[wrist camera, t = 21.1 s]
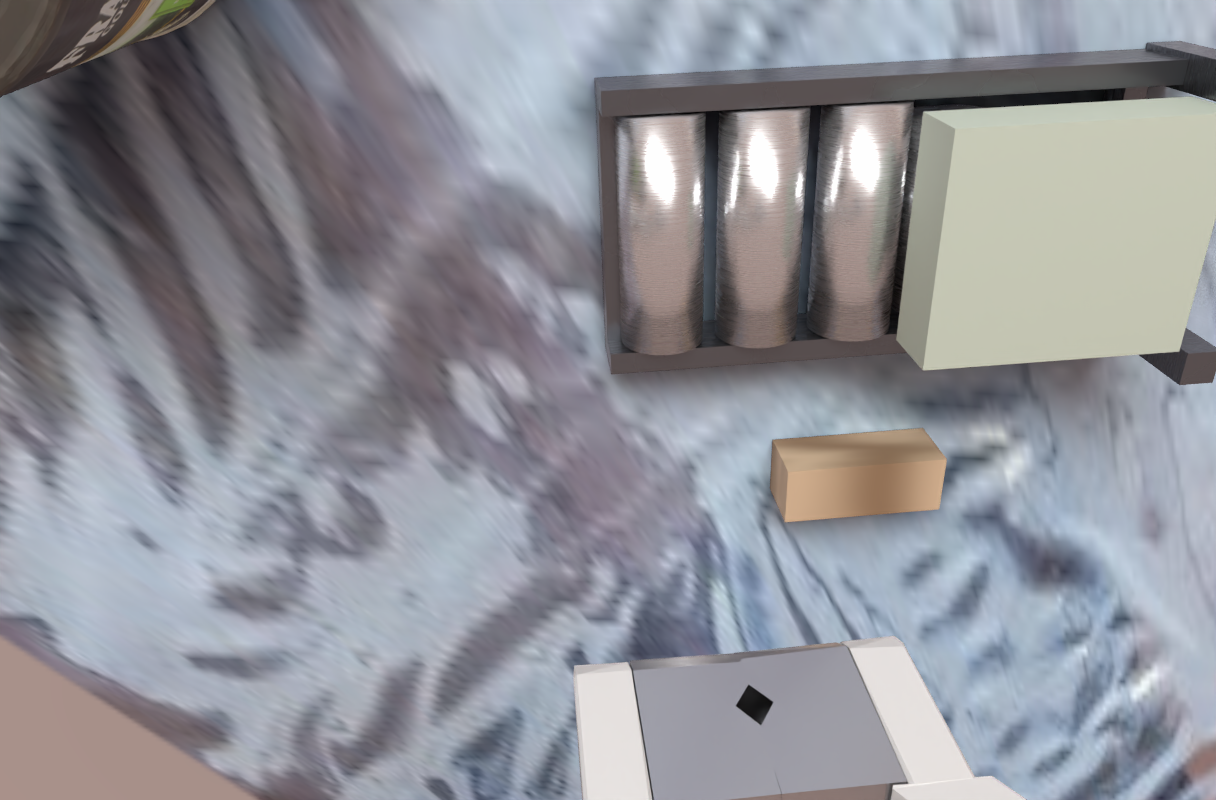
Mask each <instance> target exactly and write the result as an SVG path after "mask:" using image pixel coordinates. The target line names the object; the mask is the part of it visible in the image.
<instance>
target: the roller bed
mask: <svg viewBox="0 0 1216 800" xmlns="http://www.w3.org/2000/svg"><path fill="white" fill-rule="evenodd" d="M1152 86H1166V87H1169V88H1173V89H1176V90H1179V91H1183V92H1186V93H1189V94H1193V95H1196V96H1199V97H1203V98H1206V99H1209V100H1213V101H1216V49H1213V48H1208V47H1204V46H1200V45H1195V44H1191V43H1186V42H1182V41H1172V42H1153V43H1147V46H1146V49H1133V50H1114V51H1095V52H1076V53H1057V54H1038V55H1019V56H1000V57H981V58H962V59H943V60H924V61H905V62H886V63H867V64H848V65H829V66H810V67H791V68H772V69H753V70H734V71H715V72H696V73H677V74H658V75H639V76H620V77H601V78H595V98H596V123H597V148H598V174H599V199H600V224H601V249H602V274H603V300H604V325H605V347H606V352H607V356H608V361H609V366H610V370H611V374H621V373H635V372H648V371H662V370H676V369H690V368H703V367H717V366H731V365H744V364H758V363H772V362H785V361H799V360H813V359H827V358H840V357H854V356H868V355H881V354H895V353H907V352H906V351H905V349H904V348H903V347H902V346H901V345H900V344H899V342H898V341H897V340H896V337H897V329H898V320H899V312H897V311H895V310H894V309H892V308H891V303H892V295H893V286H894V277H895V268H896V259H897V251H898V242H899V233H900V224H901V215H902V207H903V198H904V189H905V180H906V171H907V162H908V154H909V145H910V136H911V127H912V118H913V110H914V100H917V99H935V98H953V97H971V96H989V95H1007V94H1025V93H1043V92H1061V91H1080V90H1098V89H1105V92H1104V97H1103V101H1121V100H1139V99H1146V94H1147V90H1148V87H1152ZM811 105H821V119H820V133H819V148H818V162H817V177H816V191H815V206H814V220H813V235H812V249H811V264H810V278H809V293H808V308H807V314H797V312H798V297H799V281H800V265H801V249H802V234H803V218H804V202H805V187H806V171H807V155H808V140H809V124H810V108H811ZM718 110H719V140H718V191H717V241H716V292H715V320H707V321H703V275H704V200H705V124H706V111H718ZM1139 356H1141V357H1142V358H1144V359H1145V360H1146V361H1148V362H1149V363H1150V364H1152V365H1153V366H1154V367H1156V368H1157V369H1158V370H1160V371H1161V372H1162V373H1164V374H1165V375H1167V376H1168V377H1169V378H1171V379H1172V380H1173V381H1175V382H1176V383H1177V384H1179V385H1186V384H1199V383H1212V382H1213V379H1214V376H1215V372H1216V347H1215V346H1213V345H1211V344H1210V343H1208V342H1207V341H1205V340H1204V339H1202V338H1201V337H1199V336H1198V335H1196V334H1195V333H1193V332H1191V331H1190V330H1188V329H1187V328H1186V329H1185V332H1184V336H1183V340H1182V343H1181V347H1180V350H1179V352H1167V353H1153V354H1140V355H1139Z"/></svg>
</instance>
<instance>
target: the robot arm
mask: <svg viewBox="0 0 1216 800" xmlns="http://www.w3.org/2000/svg"><path fill="white" fill-rule="evenodd" d="M574 693H575V707H576V721H577V735H578V749H579V763H580V777H581V791H582V800H1027V799H1025V798H1024V797H1022V796H1021V795H1019V794H1018V793H1016V792H1015V791H1014V790H1012V789H1011V788H1009V787H1008V786H1006V785H1005V784H1003V783H1002V782H1000V781H999V780H997V779H996V778H995V777H993V776H985V777H975V776H974V774H973V772H972V771H971V769H970V767H969V765H968V763H967V761H966V759H965V757H964V756H963V754H962V752H961V750H960V748H959V746H958V744H957V742H956V741H955V739H954V737H953V735H952V733H951V731H950V729H949V728H948V726H947V724H946V722H945V720H944V718H943V716H942V714H941V713H940V711H939V709H938V707H937V705H936V703H935V701H934V699H933V698H932V696H931V694H930V692H929V690H928V688H927V686H926V684H925V683H924V681H923V679H922V677H921V675H920V673H919V671H918V670H917V668H916V666H915V664H914V662H913V660H912V658H911V656H910V655H909V653H908V651H907V649H906V647H905V645H904V643H903V642H901V641H900V640H899V639H898V638H896V637H895V636H889V637H880V638H870V639H861V640H852V641H842V642H841V643H840V644H839V643H826V644H817V645H807V646H797V647H787V648H778V649H768V650H758V651H748V652H739V653H734V654H720V655H705V656H690V657H676V658H661V659H647V660H632V661H630V665H629V664H628V662H624V663H608V664H591V665H575V666H574Z"/></svg>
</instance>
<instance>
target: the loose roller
mask: <svg viewBox="0 0 1216 800" xmlns="http://www.w3.org/2000/svg"><path fill="white" fill-rule="evenodd" d="M979 108H985V107H980V106H973V105H961V104H951V105H936V106H920V107H915V108H914V110H913V118H912V127H911V136H910V145H909V154H908V162H907V171H906V180H905V189H904V198H903V207H902V215H901V224H900V233H899V242H898V251H897V259H896V268H895V277H894V286H893V295H892V303H891V308H892V309H894V310H895V311H897V312H900V303H901V295H902V287H903V278H904V270H905V261H906V253H907V244H908V236H909V227H910V219H911V210H912V202H913V194H914V185H915V177H916V168H917V160H918V151H919V143H920V134H921V126H922V117H923V112H925V111H943V110H961V109H979Z"/></svg>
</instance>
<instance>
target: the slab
mask: <svg viewBox="0 0 1216 800" xmlns="http://www.w3.org/2000/svg"><path fill="white" fill-rule="evenodd" d="M1215 219H1216V103H1213V102H1209V101H1206V100H1203V99H1199V98H1196V97H1193V96H1192V97H1174V98H1156V99H1139V100H1121V101H1103V102H1085V103H1068V104H1050V105H1032V106H1014V107H996V108H979V109H961V110H943V111H925V112H923V117H922V126H921V134H920V143H919V151H918V160H917V168H916V177H915V185H914V194H913V202H912V210H911V219H910V227H909V236H908V244H907V253H906V261H905V270H904V278H903V287H902V295H901V303H900V312H899V320H898V329H897V337H896V340H897V341H898V342H899V344H900V345H901V346H902V347H903V348H904V349H905V351H906V352H907V353H908V354H909V355H910V356H911V358H912V359H913V360H914V361H915V362H916V363H917V364H918V366H919V367H920V368H921V369H922V370H923V371H924V370H938V369H951V368H965V367H978V366H992V365H1005V364H1019V363H1032V362H1045V361H1059V360H1072V359H1086V358H1099V357H1113V356H1126V355H1140V354H1153V353H1167V352H1179V350H1180V347H1181V343H1182V340H1183V336H1184V332H1185V329H1186V325H1187V321H1188V318H1189V314H1190V310H1191V307H1192V303H1193V299H1194V296H1195V292H1196V288H1197V285H1198V281H1199V277H1200V274H1201V270H1202V266H1203V263H1204V259H1205V255H1206V252H1207V248H1208V244H1209V241H1210V237H1211V233H1212V230H1213V226H1214V223H1215Z"/></svg>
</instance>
